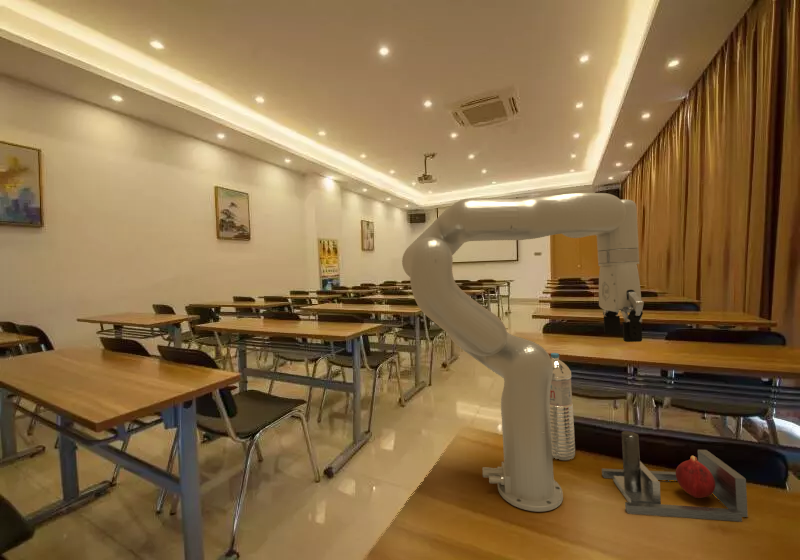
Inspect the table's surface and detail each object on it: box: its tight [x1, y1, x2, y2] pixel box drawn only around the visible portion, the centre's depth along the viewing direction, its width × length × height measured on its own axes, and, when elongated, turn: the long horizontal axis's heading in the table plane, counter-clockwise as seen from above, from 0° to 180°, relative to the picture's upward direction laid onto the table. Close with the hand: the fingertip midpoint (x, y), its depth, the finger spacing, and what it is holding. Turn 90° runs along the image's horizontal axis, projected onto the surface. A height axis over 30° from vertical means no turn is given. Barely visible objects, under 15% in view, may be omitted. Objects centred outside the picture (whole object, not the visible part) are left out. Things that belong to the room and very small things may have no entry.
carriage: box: [612, 430, 662, 504], centre depth 68 cm, size 5×8×12 cm, turn 169°
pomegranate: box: [675, 455, 715, 499], centre depth 66 cm, size 6×6×8 cm
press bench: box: [601, 449, 749, 522], centre depth 67 cm, size 20×12×7 cm, turn 79°
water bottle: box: [550, 352, 576, 461], centre depth 84 cm, size 7×7×25 cm
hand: (621, 337), depth 74 cm, fingers open, 9 cm apart
